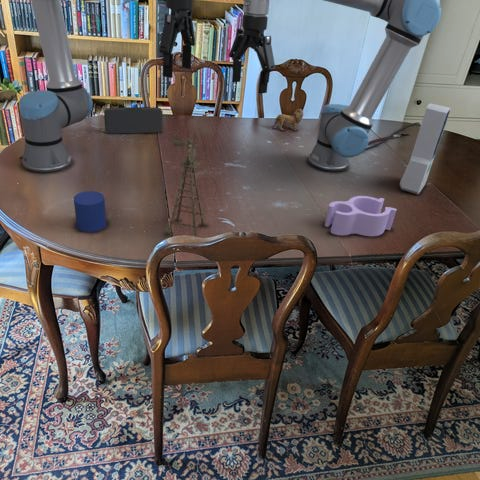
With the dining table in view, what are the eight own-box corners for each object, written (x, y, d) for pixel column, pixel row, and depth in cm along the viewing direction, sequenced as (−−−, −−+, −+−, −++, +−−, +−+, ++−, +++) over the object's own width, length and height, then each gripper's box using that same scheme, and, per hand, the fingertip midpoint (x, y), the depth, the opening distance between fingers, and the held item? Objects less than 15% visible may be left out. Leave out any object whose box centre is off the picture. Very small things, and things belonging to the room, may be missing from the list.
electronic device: (417, 196, 165) (445, 112, 149) (397, 189, 168) (422, 107, 152) (426, 184, 174) (453, 104, 158) (406, 178, 177) (431, 99, 161)
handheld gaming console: (161, 130, 196) (161, 106, 191) (162, 132, 194) (162, 108, 189) (105, 131, 189) (103, 107, 184) (105, 134, 187) (104, 109, 181)
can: (104, 232, 128) (102, 204, 123) (74, 232, 126) (71, 204, 122) (107, 217, 134) (105, 191, 129) (78, 217, 133) (75, 190, 128)
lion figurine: (298, 126, 216) (301, 107, 212) (303, 130, 212) (306, 111, 207) (269, 127, 212) (271, 107, 207) (273, 131, 207) (276, 111, 203)
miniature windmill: (195, 240, 128) (201, 135, 112) (166, 234, 129) (167, 130, 113) (204, 224, 136) (210, 124, 119) (176, 219, 137) (178, 119, 120)
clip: (337, 240, 135) (342, 219, 131) (318, 218, 145) (322, 198, 141) (395, 233, 141) (402, 213, 137) (373, 213, 151) (378, 194, 147)
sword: (406, 132, 223) (406, 130, 222) (411, 134, 221) (412, 132, 220) (362, 144, 207) (363, 141, 206) (368, 146, 205) (368, 143, 204)
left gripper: (173, -2, 118) (171, 83, 129) (208, -8, 138) (204, 66, 150) (146, -6, 119) (146, 78, 131) (185, -12, 140) (182, 62, 151)
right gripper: (220, 8, 144) (217, 78, 156) (273, 22, 128) (265, 99, 140) (239, 8, 148) (235, 76, 160) (293, 21, 132) (283, 96, 144)
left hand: (177, 72), depth 140 cm, fingers open, 13 cm apart
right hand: (249, 87), depth 150 cm, fingers open, 13 cm apart
